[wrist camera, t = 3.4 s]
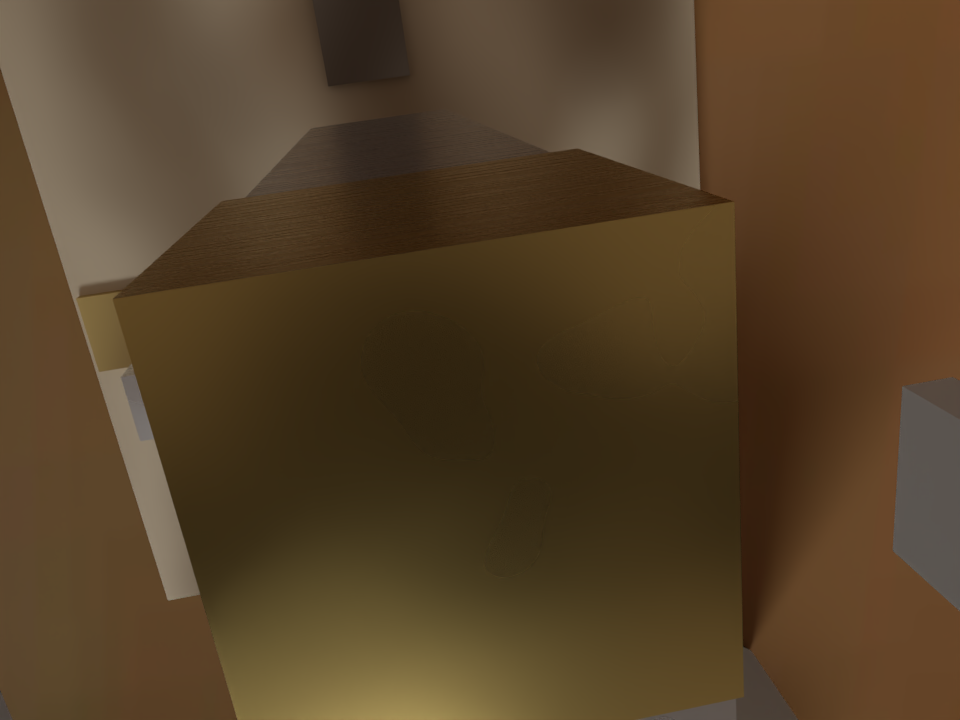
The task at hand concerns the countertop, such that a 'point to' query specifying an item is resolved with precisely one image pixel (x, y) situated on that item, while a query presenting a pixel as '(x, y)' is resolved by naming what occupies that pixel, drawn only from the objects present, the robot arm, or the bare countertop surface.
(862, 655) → the countertop surface
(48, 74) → the board
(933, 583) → the robot arm
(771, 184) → the countertop surface
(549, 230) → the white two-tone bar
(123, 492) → the countertop surface
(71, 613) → the countertop surface
